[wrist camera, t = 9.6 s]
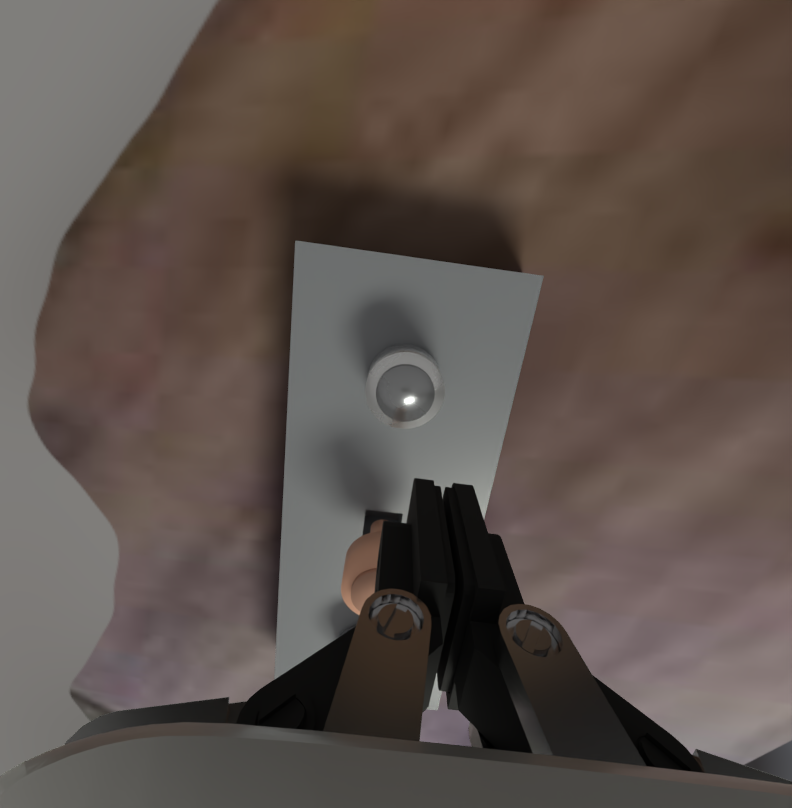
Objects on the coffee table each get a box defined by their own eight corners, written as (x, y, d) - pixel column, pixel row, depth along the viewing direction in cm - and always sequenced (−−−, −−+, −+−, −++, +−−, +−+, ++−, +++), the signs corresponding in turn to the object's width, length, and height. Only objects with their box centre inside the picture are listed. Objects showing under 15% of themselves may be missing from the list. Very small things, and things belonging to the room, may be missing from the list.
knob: (440, 338, 27) (452, 360, 22) (429, 400, 29) (438, 435, 23) (374, 329, 27) (369, 349, 21) (367, 392, 29) (360, 426, 23)
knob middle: (417, 505, 28) (423, 568, 22) (408, 557, 30) (412, 628, 24) (353, 498, 28) (343, 560, 22) (347, 551, 29) (336, 621, 24)
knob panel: (522, 273, 27) (543, 276, 23) (433, 666, 39) (437, 710, 35) (309, 242, 26) (295, 240, 22) (285, 652, 38) (273, 696, 35)
